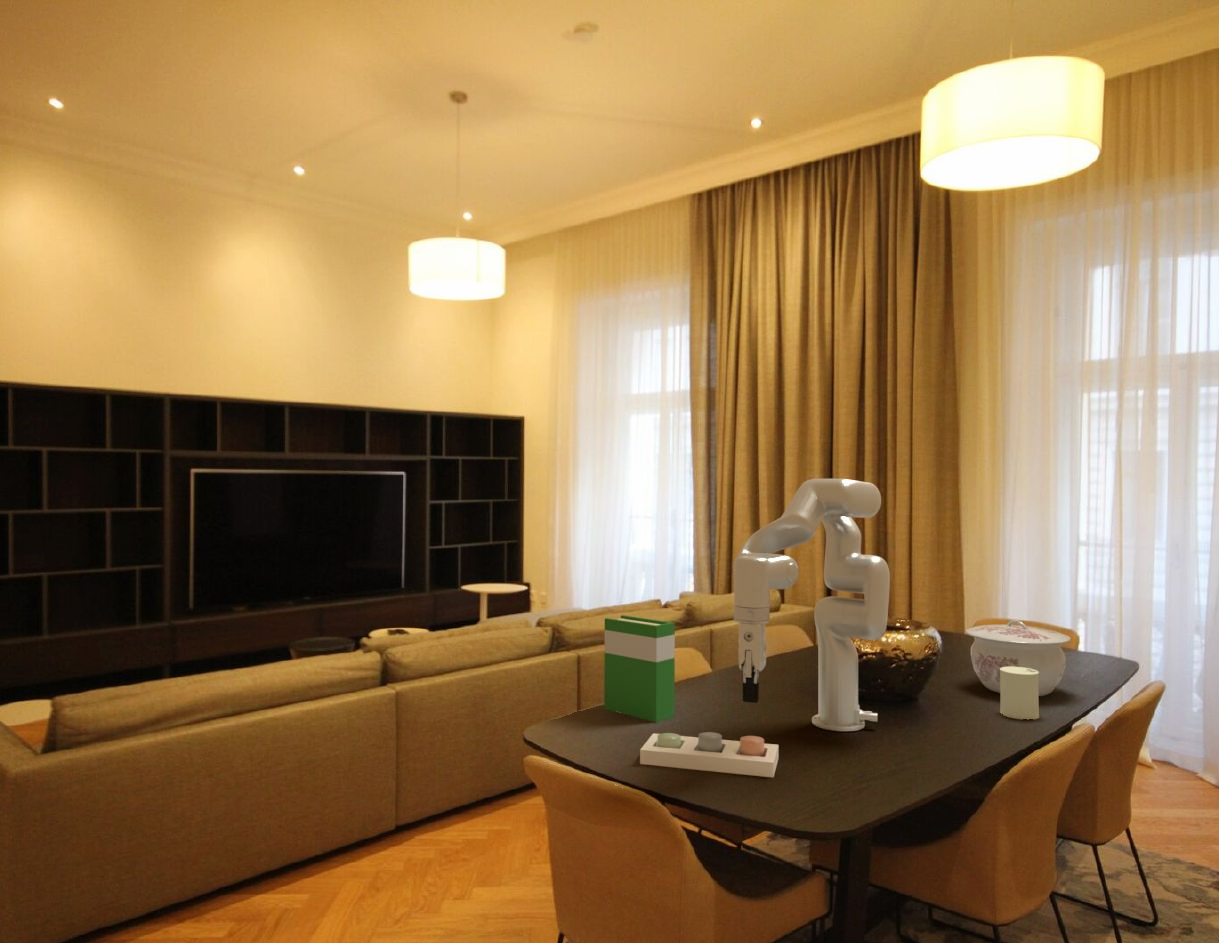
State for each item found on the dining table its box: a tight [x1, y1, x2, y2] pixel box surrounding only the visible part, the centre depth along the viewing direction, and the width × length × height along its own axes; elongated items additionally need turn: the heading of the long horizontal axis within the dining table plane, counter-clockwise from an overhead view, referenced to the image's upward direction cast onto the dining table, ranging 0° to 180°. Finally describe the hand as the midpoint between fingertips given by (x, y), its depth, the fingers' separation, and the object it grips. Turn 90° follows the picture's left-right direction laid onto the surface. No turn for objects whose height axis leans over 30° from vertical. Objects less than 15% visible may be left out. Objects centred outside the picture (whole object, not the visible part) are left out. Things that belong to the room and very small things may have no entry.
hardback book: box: [603, 614, 676, 723], centre depth 215 cm, size 18×7×24 cm, turn 48°
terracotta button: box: [739, 735, 765, 757], centre depth 175 cm, size 5×5×4 cm
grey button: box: [698, 731, 723, 753], centre depth 178 cm, size 5×5×4 cm
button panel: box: [639, 732, 780, 778], centre depth 178 cm, size 28×12×3 cm, turn 74°
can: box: [999, 667, 1040, 721], centre depth 214 cm, size 9×9×12 cm
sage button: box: [658, 732, 682, 749], centre depth 180 cm, size 5×5×4 cm
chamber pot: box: [964, 619, 1072, 698], centre depth 238 cm, size 28×28×21 cm
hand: (750, 701), depth 175 cm, fingers closed
